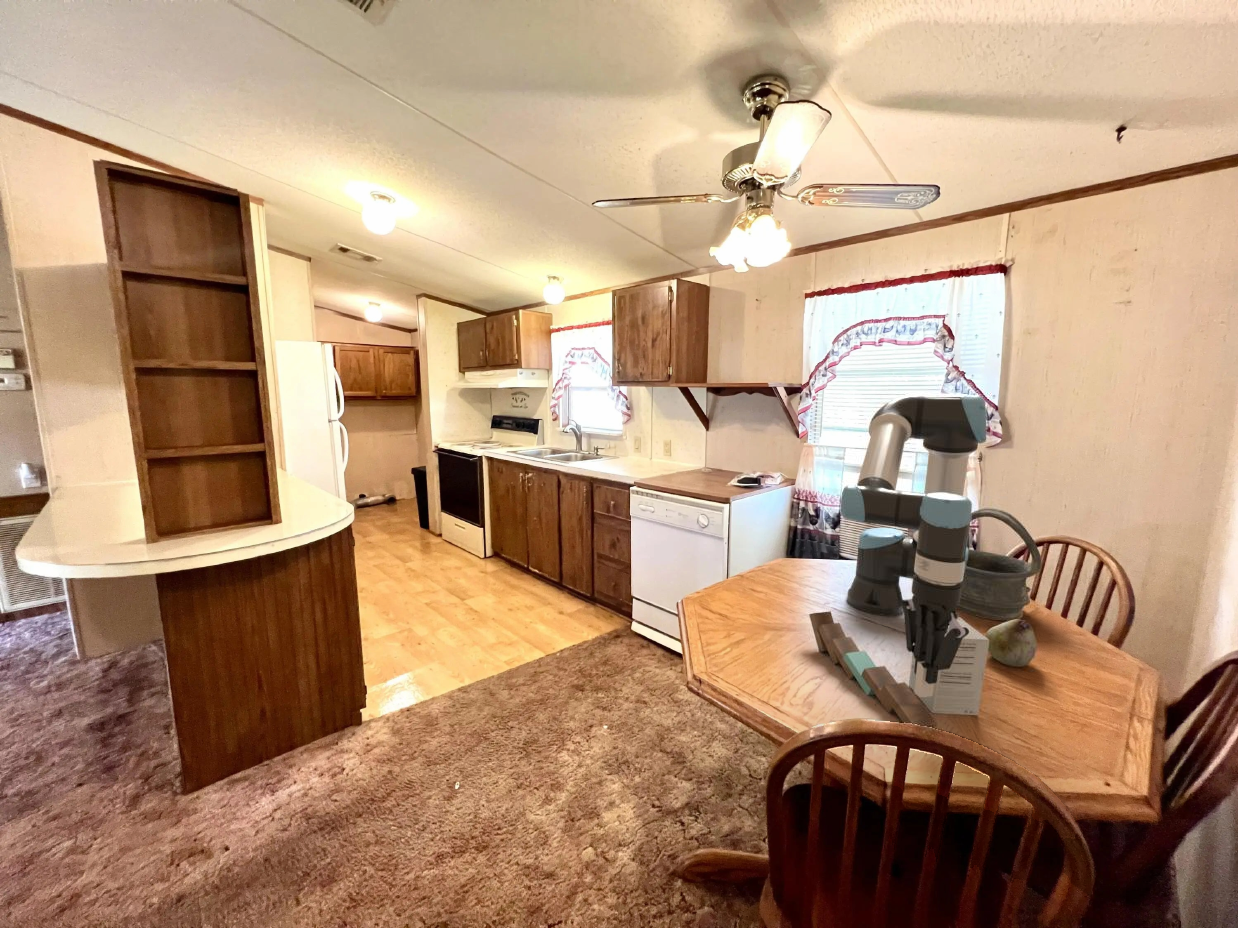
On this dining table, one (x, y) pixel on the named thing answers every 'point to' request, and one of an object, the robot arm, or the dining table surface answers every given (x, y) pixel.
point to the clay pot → (998, 576)
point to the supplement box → (959, 677)
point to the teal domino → (860, 667)
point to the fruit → (1012, 642)
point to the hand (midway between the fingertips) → (923, 693)
